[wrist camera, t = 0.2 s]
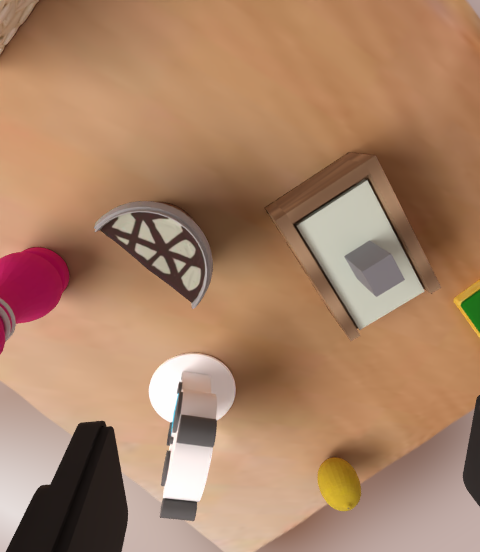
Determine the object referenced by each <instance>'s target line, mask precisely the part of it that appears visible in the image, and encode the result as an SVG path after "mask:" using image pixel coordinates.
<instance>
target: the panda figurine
mask: <svg viewBox="0 0 480 552" xmlns="http://www.w3.org/2000/svg"><path fill="white" fill-rule="evenodd" d="M235 393H236V387H235V381H234V378H233V375H232V373H231V372H230V370H229V369H228V368H227V366H226V365H225V364H223V363H222V362H221V361H219V360H218V359H216V358H214V357H212V356H209V355H206V354H202V353H184V354H180V355H177V356H174V357H172V358H170V359H168V360H166V361H165V362H164V363H162V364H161V365H160V366H159V367H158V368H157V370H156V371H155V372H154V374H153V376H152V378H151V381H150V386H149V397H150V401H151V404H152V406H153V407H154V409H155V410H156V412H157V413H158V414H159V415H160V416H161V417H162V418H164V419H165V420H167V421H168V422H170V428H169V433H168V439H167V445H168V446H170V448H169V451H167V453H166V458H165V463H164V468H163V474H162V482H161V486H164V491H163V501H162V506H161V513H160V518H169V519H180V520H189V521H194V520H195V516H196V510H197V502H199V501H200V499H201V497H202V494H203V491H204V487H205V483H206V480H207V475H208V471H209V466H210V462H211V456H212V450H213V446H214V442H215V436H216V427H217V420H218V419H220V418H221V417H222V416H224V415H225V414H226V413H227V411H228V410H229V409H230V407H231V406H232V404H233V401H234V398H235Z"/></svg>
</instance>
